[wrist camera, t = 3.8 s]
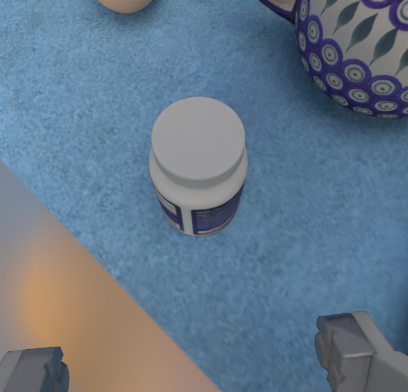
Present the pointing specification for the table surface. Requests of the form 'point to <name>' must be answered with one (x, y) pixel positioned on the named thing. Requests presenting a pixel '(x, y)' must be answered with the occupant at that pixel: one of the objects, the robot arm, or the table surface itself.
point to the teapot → (354, 50)
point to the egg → (125, 5)
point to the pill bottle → (198, 164)
